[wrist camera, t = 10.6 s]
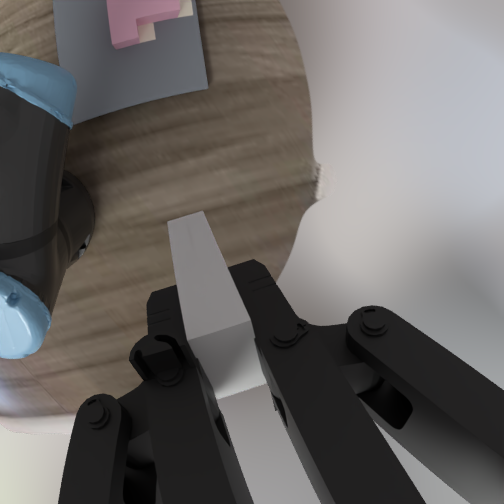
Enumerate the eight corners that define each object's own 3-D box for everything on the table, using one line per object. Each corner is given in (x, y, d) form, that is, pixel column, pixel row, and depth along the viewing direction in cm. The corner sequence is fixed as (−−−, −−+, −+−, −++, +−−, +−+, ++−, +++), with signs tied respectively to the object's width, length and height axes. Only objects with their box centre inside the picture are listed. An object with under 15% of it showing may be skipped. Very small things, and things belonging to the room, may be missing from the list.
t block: (116, 49, 27) (112, 44, 24) (109, -3, 23) (105, -13, 20) (180, 34, 29) (183, 28, 26) (172, -18, 25) (175, -28, 21)
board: (73, 124, 31) (71, 125, 30) (54, -27, 18) (52, -29, 17) (206, 88, 35) (208, 88, 34) (185, -60, 22) (186, -63, 21)
